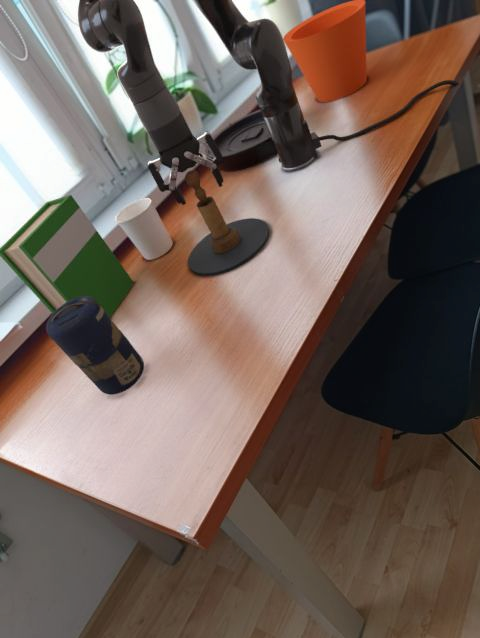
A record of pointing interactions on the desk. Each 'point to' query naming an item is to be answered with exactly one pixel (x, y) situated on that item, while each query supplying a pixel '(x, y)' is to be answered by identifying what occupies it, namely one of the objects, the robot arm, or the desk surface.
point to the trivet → (250, 244)
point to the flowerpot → (332, 50)
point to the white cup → (145, 228)
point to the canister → (95, 345)
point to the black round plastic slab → (244, 143)
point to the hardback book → (66, 258)
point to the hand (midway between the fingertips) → (202, 194)
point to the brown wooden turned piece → (213, 217)
